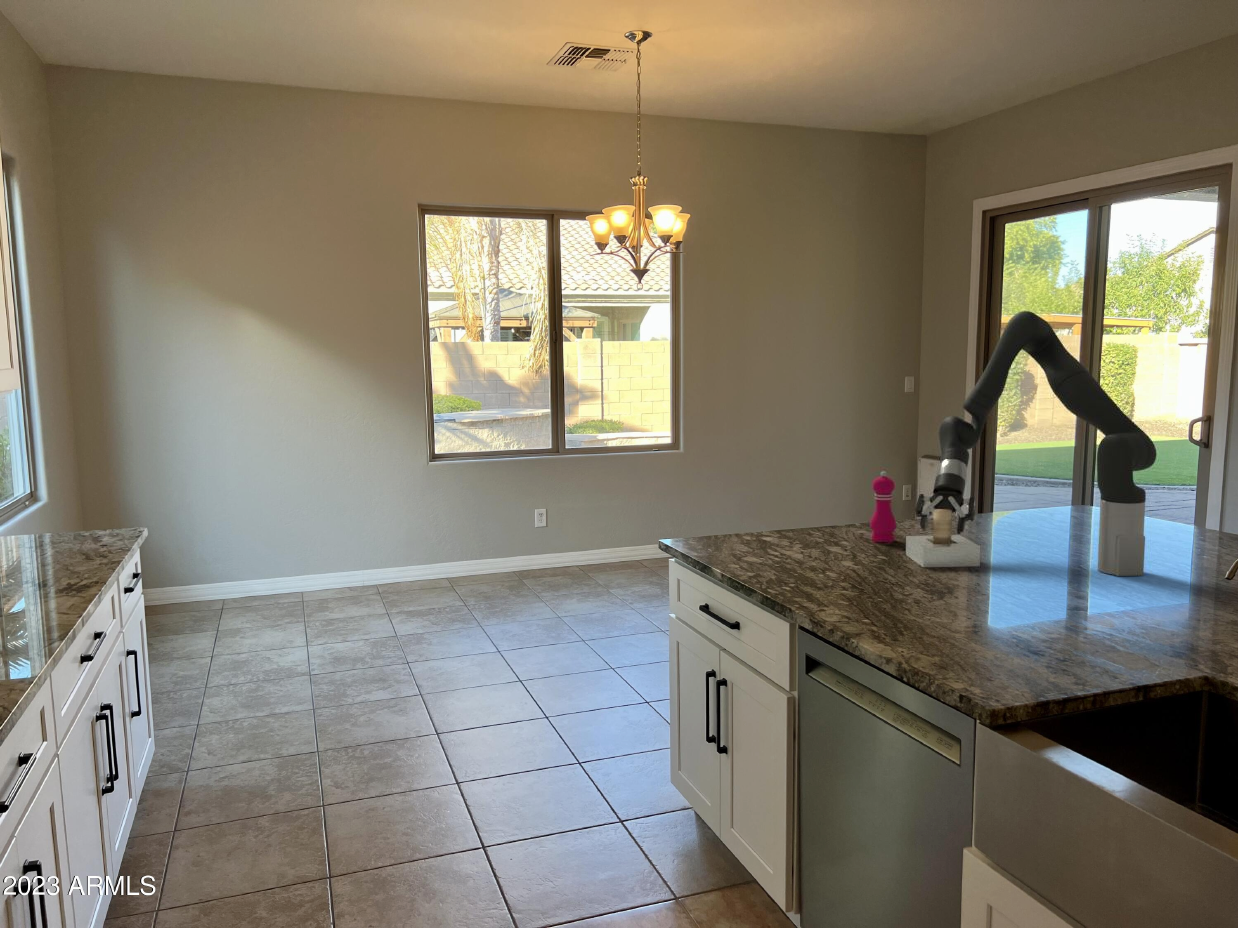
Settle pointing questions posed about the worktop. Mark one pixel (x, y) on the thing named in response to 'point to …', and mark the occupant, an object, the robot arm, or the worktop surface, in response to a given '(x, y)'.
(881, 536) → the pepper mill
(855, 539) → the worktop surface
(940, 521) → the peg
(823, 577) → the worktop surface
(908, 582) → the worktop surface
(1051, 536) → the worktop surface
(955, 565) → the white square frame block
